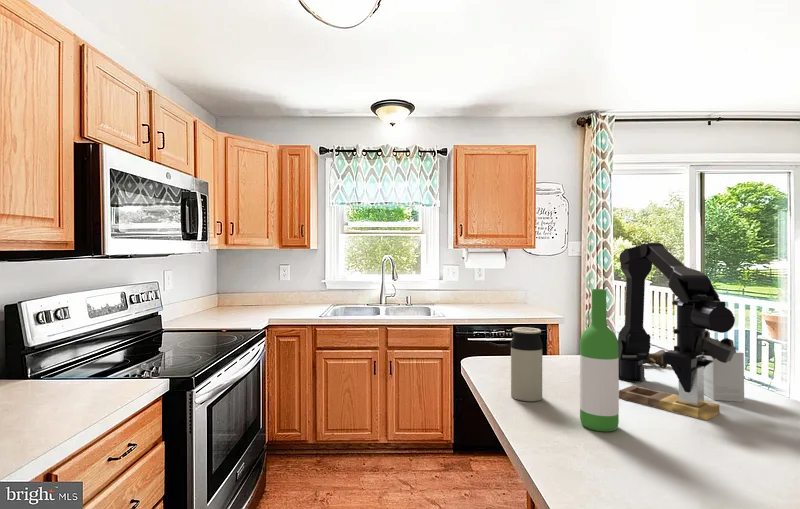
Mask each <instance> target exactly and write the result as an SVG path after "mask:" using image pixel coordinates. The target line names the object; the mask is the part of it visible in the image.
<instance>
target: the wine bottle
mask: <svg viewBox="0 0 800 509" xmlns="http://www.w3.org/2000/svg"><path fill="white" fill-rule="evenodd" d="M590 318H591V320H590V322H591V324H590V325H589V326H588V327H587V328H586V329H585V330H583V332H582V334H581V336H580V340H579V420H580V423H581V424H582V426H583V427H585V428H587V429H590V430H593V431H596V432H597V431H598V432H606V433H608V432H609V433H610V432H613V431H616V430H617V428H618V427H619V422H620V420H619V417H620V415H619V413H620V412H619V410H620V404H619V402H620V401H619V400H620V398H619V390H620V389H619V382H620V381H619V380H620V379H619V357H618V336H617V335H616V334H615V333H614V331H613V330H612V329H611V328H609V326H608V325H607V290H606V289H603V288H592V289H591V316H590Z"/></svg>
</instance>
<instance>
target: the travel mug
mask: <svg viewBox="0 0 800 509" xmlns="http://www.w3.org/2000/svg"><path fill="white" fill-rule="evenodd" d="M511 331H512V332H513V336H512V338H511V339H510V396H511V397H512V398H513V399H515V400H517V401H521V402H525V403H533V402H538V401H540V400H542V399H543V341H542V339H541V336H540V335H541V333H542V330H541V329H540V328H535V327H525V326H521V327H520V326H518V327H513V328H512V329H511Z"/></svg>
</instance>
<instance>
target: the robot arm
mask: <svg viewBox="0 0 800 509" xmlns="http://www.w3.org/2000/svg"><path fill="white" fill-rule="evenodd" d="M619 262H620V270H621V271H622V273H623V275H624V276H625V277H626V281H625V282H626V283H625V305H624V306H625V311H624V325H623V326H622V328H621V329H620V330H619V332H618V336H617V340H618V357H619V380H622V381H626V382H631V383H638V382H643V381H644V380H646V377H645V364H643V360H648V356H649V353H650V351H651V338H652V337H651V335H650V333H647V331H646V330H645V328H644V318H645V317H644V316H645V314H644V313H645V290H646V289H645V288H646V287H645V286H646V279H647V277H648V275H650V273H651V271H652V269H653V266H654V267H655V268H656V269H658V270H659V271H660V273H661V274H663V276H665V277H666V279H668V287H669V288H670V290H671V292H672V293H673V294H674V296H675V297H677V298H675V299H674V300H673V301H672V302H671V304H672V306H676V328H674V329H673V334H676V345H674V346H673V349H671V350H667V351H665V353H663V354H662V363H663V364H667V366H671V368H672V370H673V372H674V374H675V375H676V377H677V379H678V382H679V381H680V383H681V385H682V387H683V389H684V391H685V392H688V393H690V392H691V387H692V381H693V375H694V371H695V370H697V369H698V368H700V367H701V366H704V368H705V367H706V366H707V365H709V364H710V363H712V362H713V361H712V360H706V357H705V356H711V357H712V358H713V359H717V360H718V361H720V362H723V363H727V362H728V361H731V359H732V357H733V355H734V354H735V353H736V351H737V347H736V346H735V344H734V340H732V339H730V338H728V337H724V338H723V339H721V340H720V339H715V338H713V337H711V336H710V335H711V333H710V332H709V331H712V332H716V333H721V334H722V333H723V334H724V333H727V332H729V331H731V330H732V329H733V327H734V325H735V323H736V322H735V321H736V317H735V316H734V314H733V312H732V311H731V310H730V308H728V307H726V302H725V301H721V299H720V295H719V294H718V293H717V291H716V290H715V288H714V286H713V283H712V281H711V279H710V278H709V276H708V275H706V274H705V273H704V272H701V271H699V270H697V269H694V268H690V267H687V266H685V264H683V263H682V262H681V261H680V260H679V259H678V258H676V257H675V256H674V255H673V254H672V253H671V252H670V251H668V249H667V248H666V247H665V245H664V244H663V243H661V242H645V243H641V244H639V245H636V246H633V247H629V248H624V249H623V251H621V253H620V254H619ZM699 365H700V366H699Z"/></svg>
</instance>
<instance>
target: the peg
mask: <svg viewBox="0 0 800 509" xmlns="http://www.w3.org/2000/svg"><path fill="white" fill-rule="evenodd" d="M699 366H700V365H699ZM678 395H679V403H682V404H687V405H691V406H695V407H699V406H700V405H702V404H704V401H705V394H704V366H701V367H700V368H698V369H697V370H695V371H694V375H693V381H692V387H691V392H690V393H688V392H685V391H684V389H683V387H682V385H681V383H680V381H679V380H678Z"/></svg>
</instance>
